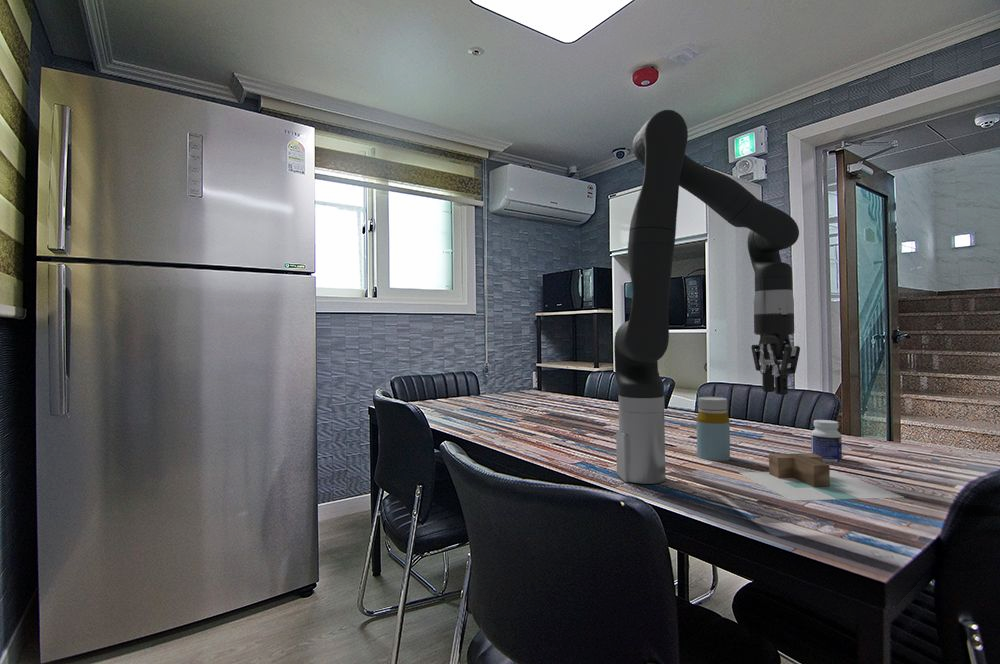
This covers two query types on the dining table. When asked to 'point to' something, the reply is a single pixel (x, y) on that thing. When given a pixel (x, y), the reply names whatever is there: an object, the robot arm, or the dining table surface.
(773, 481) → the mat
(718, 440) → the bottle
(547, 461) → the dining table surface
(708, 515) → the dining table surface
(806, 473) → the tee block
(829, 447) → the pill bottle
